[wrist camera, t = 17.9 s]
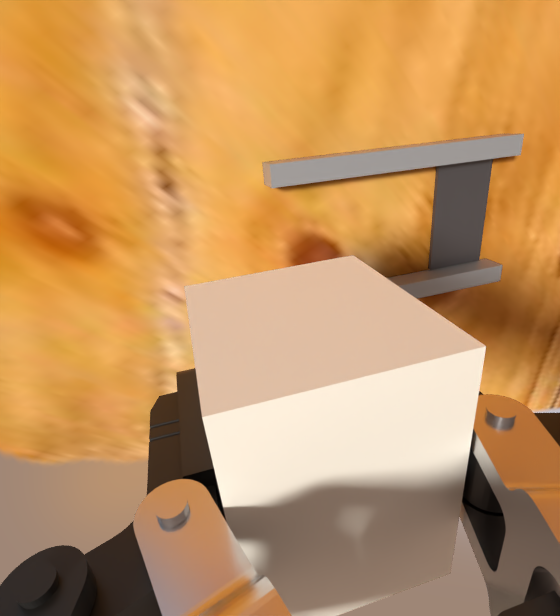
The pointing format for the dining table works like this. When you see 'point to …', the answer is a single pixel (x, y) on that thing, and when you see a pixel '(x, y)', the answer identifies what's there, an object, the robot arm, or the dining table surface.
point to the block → (335, 428)
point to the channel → (446, 208)
